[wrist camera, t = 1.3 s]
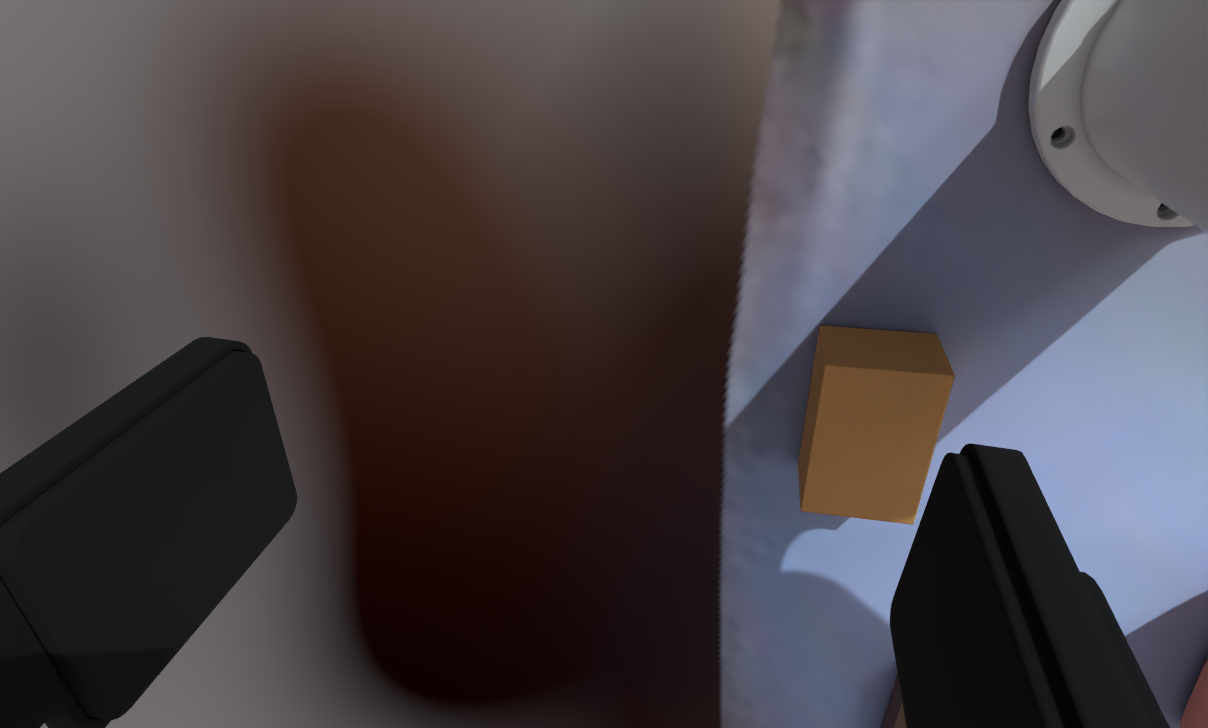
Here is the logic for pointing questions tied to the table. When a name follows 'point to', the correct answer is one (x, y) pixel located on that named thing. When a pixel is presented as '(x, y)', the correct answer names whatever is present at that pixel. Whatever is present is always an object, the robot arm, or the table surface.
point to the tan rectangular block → (872, 422)
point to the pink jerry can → (1197, 703)
